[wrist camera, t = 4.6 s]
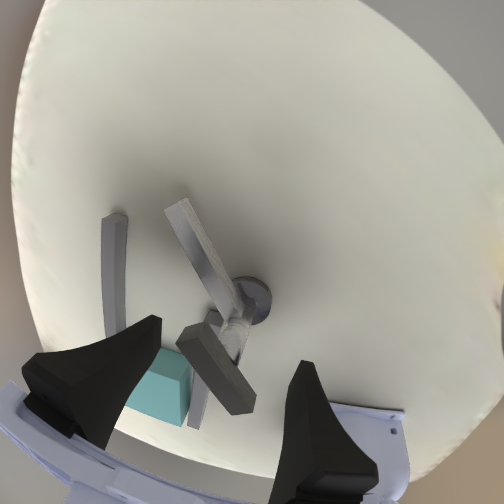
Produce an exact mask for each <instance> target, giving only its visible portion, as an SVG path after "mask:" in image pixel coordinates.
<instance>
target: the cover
mask: <svg viewBox="0 0 504 504" xmlns="http://www.w3.org/2000/svg"><path fill="white" fill-rule="evenodd" d="M191 372H192V366H191V364H190V363H189V361H188V360H187V359H186V357H185V356H184V355H183V354H180V353H177V352H174V351H170V350H167V349H164V348H160V350H159V352H158V354H157V356H156V358H155V360H154V361H153V363H152V365H151V366H150V367H149V369H148V370H147V372H146V373H145V375H144V376H143V377H142V379H141V380H140V382H139V383H138V384H137V386H136V387H135V389H134V390H133V392H132V393H131V395H130V396H129V398H128V400H127V402H126V404H125V406H127V407H130V408H132V409H134V410H137V411H139V412H142V413H144V414H147V415H149V416H152V417H154V418H157V419H160V420H162V421H165V422H168V423H171V424H173V425H176V426H179V427H181V426H182V424H183V422H184V419H185V417H186V415H187V412H188V410H189V408H190V401H191Z"/></svg>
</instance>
